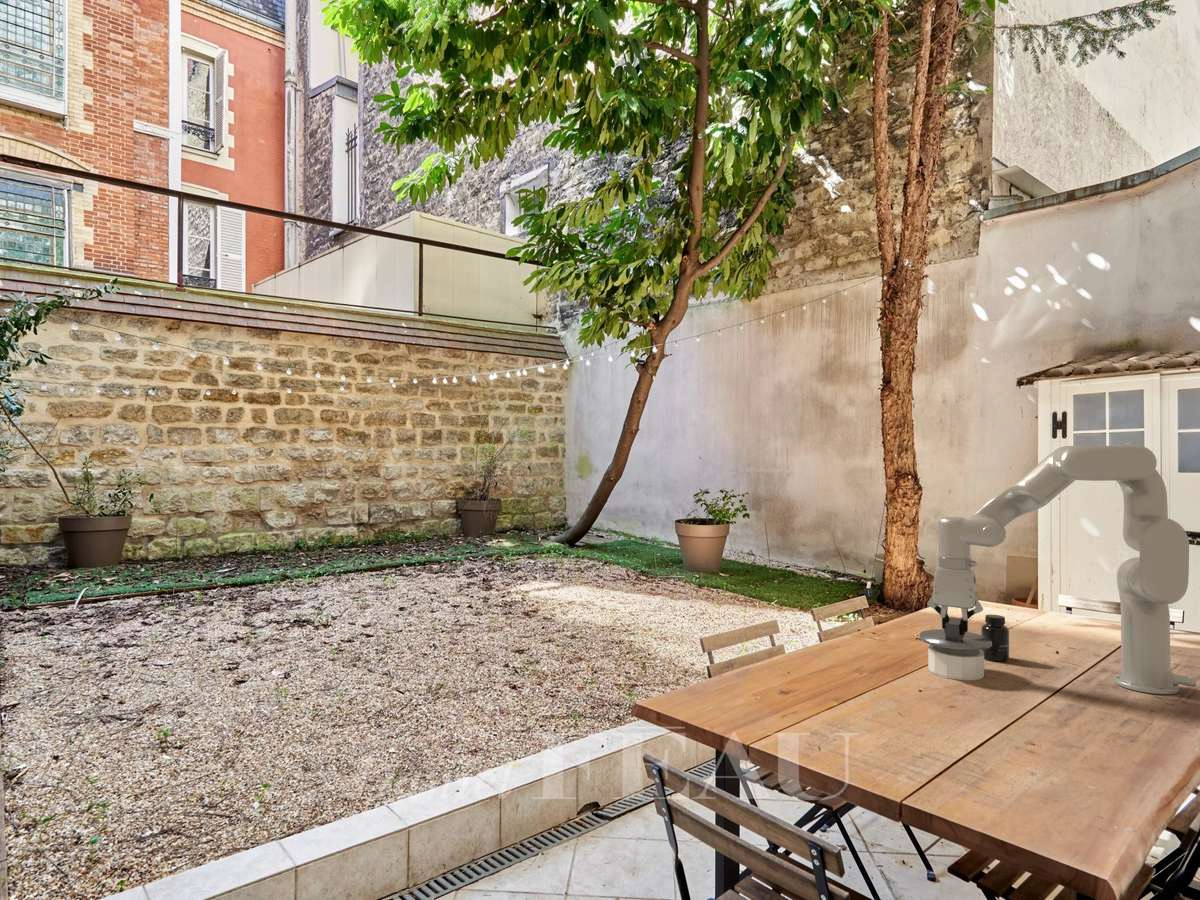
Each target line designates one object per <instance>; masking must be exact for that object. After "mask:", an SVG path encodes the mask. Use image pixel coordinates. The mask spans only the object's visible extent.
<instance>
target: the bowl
mask: <svg viewBox="0 0 1200 900" xmlns="http://www.w3.org/2000/svg"><path fill="white" fill-rule="evenodd" d="M927 648H928V649H927V650H928V652H927V654H928V655H927V656H928V658H927V659H928V660H927V663H928V664H927V666H928V671H929V672H930V673H932V674H934V675H936V676H938V677H942V678H946V679H948V680H955V681H977V680H978V681H979V680H982V679H983V678H984V677H985V659H984V651H982V650H957V649H949V648H943V647H938V646H934V645H931V644H928V647H927Z"/></svg>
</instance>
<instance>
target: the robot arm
mask: <svg viewBox="0 0 1200 900" xmlns="http://www.w3.org/2000/svg"><path fill="white" fill-rule="evenodd" d="M1157 462H1158V461H1157V458H1156V455H1155V453H1154V452H1153V451H1152V450H1151V449H1149V448H1147V447H1146V446H1144V445H1140V444H1111V445H1064V446H1061V447H1058V448H1056V449H1055V450H1053V451H1052V452H1051V453H1050V454H1048V455H1047V456H1046V457H1045V458H1043V460H1041V461H1040V462H1039V463H1038V464H1037V465H1036V466H1034V467H1033V468H1032V469H1031V470H1029V472H1027V473H1026V474H1025V475H1024V476H1022V477H1021V478H1019V480H1017V481H1016V482H1015V483H1014V484H1012V485H1011V486H1009V487H1007V488H1006V489H1005V490H1003V491H1001V493H998V495H996V496H995V497H993V498H991V499H990V500H989V501H988V502H986V503H985V505H983V506H982V507H980V508H979V510H977V511H976V512H975V513H974V514H973V515H972V516H971V517H969V518H966V517H961V516H960V517H959V516H944V517H941V518H939V520H938V521H937V531H938V532H937V533H938V534H937V538H938V539H937V540H938V543H937V545H938V546H937V547H938V550H937V551H938V566H936V567H935V571H934V576H933V585H932V586H933V588H932V595H931V597H930V598H929V599H928V601H927V602H926V603H927V604H926V605H927V606H929V607H930V608H931V609H933V610H935V611H936V612H937V614H938V615H939V616H940V618H941V629H944V632H945V623H946V622H947V621H948V620H949V619H950V616H949V614H948V612H949V611H948V609H949V608H956V609H957V608H958V609H960V610H961V611H960V612H961V618H962V619H961V620H960V623H961V635H964V634H965V632H969V626H968V625H969V623H968V622H969V619H970V618H972V616H974V615H977V614H979V613H982V612H983V611H984V607H983V606H982V604H981V603H980V601H979V599H978V588H977V579H976V574H975V571H974V570H975V569H972V567H977V565H978V564H977V563H978V562H977V560H972V558H971V546H978V547H984V548H995V547H998V546H999V545H1001V544H1002V543H1004V541H1005V539H1006V537H1007V530H1006V528H1005V527H1006V526H1008V525H1009V524H1010V523H1011V522H1013V521H1014V520H1016V519H1017V518H1020V517H1021V516H1024V515H1025V514H1028V513H1032V512H1035V511H1038V510H1039V509H1041V508H1044V507H1046V505H1048V504H1050V502H1051V501H1052V500H1054V499H1055V498H1056V497H1057V496H1058V495H1060V493H1063V491H1064V490H1066V489H1067V488H1068V487H1069V486H1071V484H1073V483H1074V482H1075V481H1091V482H1093V481H1094V482H1095V481H1097V482H1099V481H1103V482H1105V481H1107V482H1109V481H1113V482H1117V484H1118V485H1119V486H1120V489H1121V492H1122V496H1123V522H1122V523H1123V527H1122V537H1123V540H1124V542H1125V544H1126V545H1127V546H1128V547H1129V548H1130V549H1133V550H1135V551H1136V552H1139V557H1136V556H1135V557H1131V558H1129V559H1128V558H1127V559H1126V560H1125V561H1123V562H1122V563H1121V565H1120V566H1119V568H1118V569H1117V573H1116V583H1117V589H1118V595H1119V601H1120V644H1121V645H1120V650H1121V651H1120V652H1121V653H1120V654H1121V656H1120V657H1121V658H1120V659H1121V660H1120V661H1121V662H1120V663H1121V673H1118V674H1115V675H1114V677H1113V681H1114V683H1115V684H1116V685H1118V686H1121V687H1123V688H1126V689H1128V690H1132V691H1137V692H1141V693H1146V694H1154V695H1155V694H1156V695H1175V694H1178V693H1179V692H1180V686H1179V685H1181V686H1187V687H1191V688H1196V687H1197V679H1196V678H1192V677H1189V676H1187V675H1183V674H1182V675H1178V674H1176V673H1173V670H1172V668H1171V615H1170V607H1169V605H1172V604H1175V603H1177V602H1179V601H1180V600H1182V598H1183V597H1184V596H1185V595H1186V593H1187V590H1188V587H1189V576H1190V575H1189V573H1190V541H1189V537H1188V535H1187V532H1186V530H1185V528H1184V527H1183V526H1182V525H1181V524H1179V523H1178V522H1177V521H1176V520H1173V519H1171V518H1169V513H1168V512H1169V507H1168V493H1167V492H1168V491H1167V487H1166V484H1165V481H1164V480H1163V477H1162V476H1161V474H1160V473H1159V471H1158V470H1157V469H1156V468H1157V464H1158V463H1157ZM974 607H975V608H974Z"/></svg>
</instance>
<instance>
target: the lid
mask: <svg viewBox="0 0 1200 900" xmlns="http://www.w3.org/2000/svg"><path fill="white" fill-rule="evenodd" d="M961 619H962V617H954V616H953V617H952V616H951V617H950V616H949V620H948V621H947V622H946V623H945V632H944V629H942V628H941V629H940V628H939V629H929V630H924V631H920V633H919V640H921V641H922V642H923V643H925V644H928V645H930V644H931V645H934V646H938V647H943V648H949V649H957V650H983V649H987V648H990V647H991V646H992V641H991V640H990V639H989V638H987V637H985V636H982V635H981V634H978V633H974V632H971V631H968V632H965V634H964V635H961V623H960V620H961Z"/></svg>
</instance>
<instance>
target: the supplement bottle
mask: <svg viewBox="0 0 1200 900" xmlns="http://www.w3.org/2000/svg"><path fill="white" fill-rule="evenodd" d="M984 618H985V619H984V624H983V625H982V626H981V628H980V629H981V632H980V635H982V636H985V637H987V638H989V639H990V640H991V641H992V646H991V647H990V648H987V649H983V650H982V651H984V660H987V661H990V662H995V663H1004V662H1005V663H1006V662H1008V661H1009V660H1010V630H1009V628H1008V627H1007V626H1006V625H1005V624H1006V618H1005V616H1002V615H999V614H986V615H985V617H984Z"/></svg>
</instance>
